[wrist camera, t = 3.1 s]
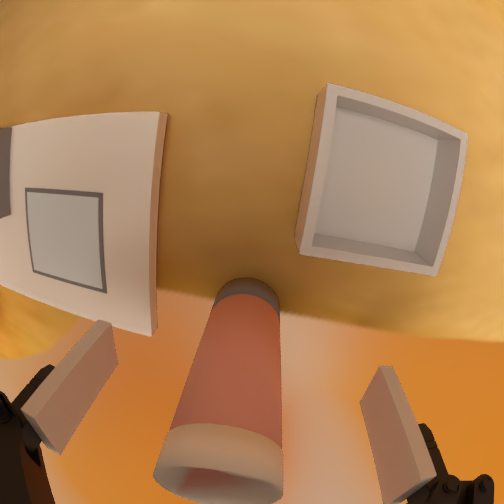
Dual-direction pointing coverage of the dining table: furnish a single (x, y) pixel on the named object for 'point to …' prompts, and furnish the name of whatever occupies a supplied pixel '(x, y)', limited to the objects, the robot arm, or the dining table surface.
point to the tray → (379, 183)
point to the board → (84, 214)
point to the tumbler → (230, 406)
